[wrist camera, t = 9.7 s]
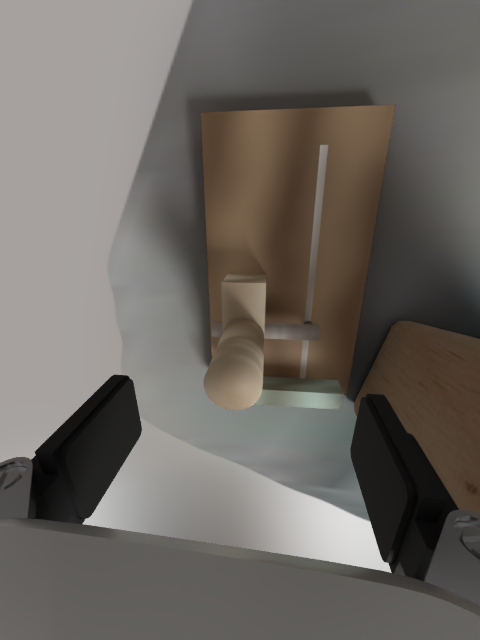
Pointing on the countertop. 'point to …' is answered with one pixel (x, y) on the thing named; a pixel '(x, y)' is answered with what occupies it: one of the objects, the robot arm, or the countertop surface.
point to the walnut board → (297, 231)
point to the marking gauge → (245, 342)
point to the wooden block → (435, 400)
